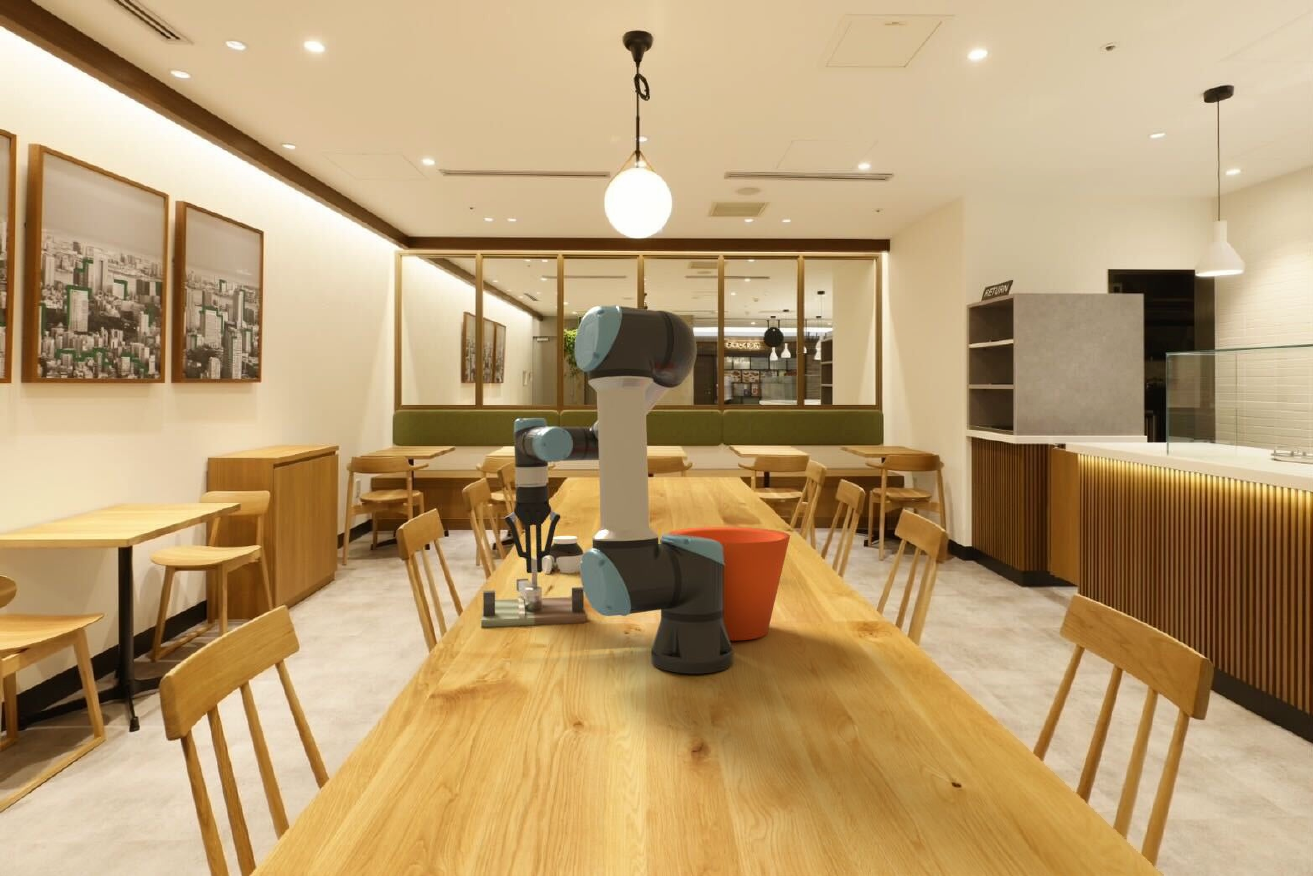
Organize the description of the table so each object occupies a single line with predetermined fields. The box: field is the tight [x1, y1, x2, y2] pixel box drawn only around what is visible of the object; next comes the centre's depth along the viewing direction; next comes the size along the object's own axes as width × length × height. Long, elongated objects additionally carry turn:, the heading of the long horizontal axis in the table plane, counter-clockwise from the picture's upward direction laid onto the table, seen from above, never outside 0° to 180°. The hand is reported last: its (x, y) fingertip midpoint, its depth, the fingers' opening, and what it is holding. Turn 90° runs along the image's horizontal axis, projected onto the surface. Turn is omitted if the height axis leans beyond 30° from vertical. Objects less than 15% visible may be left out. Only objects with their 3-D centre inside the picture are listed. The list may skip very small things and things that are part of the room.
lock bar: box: [516, 578, 543, 611], centre depth 169 cm, size 13×4×5 cm, turn 24°
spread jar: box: [542, 535, 585, 575], centre depth 208 cm, size 12×11×12 cm
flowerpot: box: [668, 526, 791, 641], centre depth 154 cm, size 25×25×20 cm
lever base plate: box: [480, 586, 587, 628], centre depth 167 cm, size 19×22×6 cm
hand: (534, 586), depth 172 cm, fingers closed
